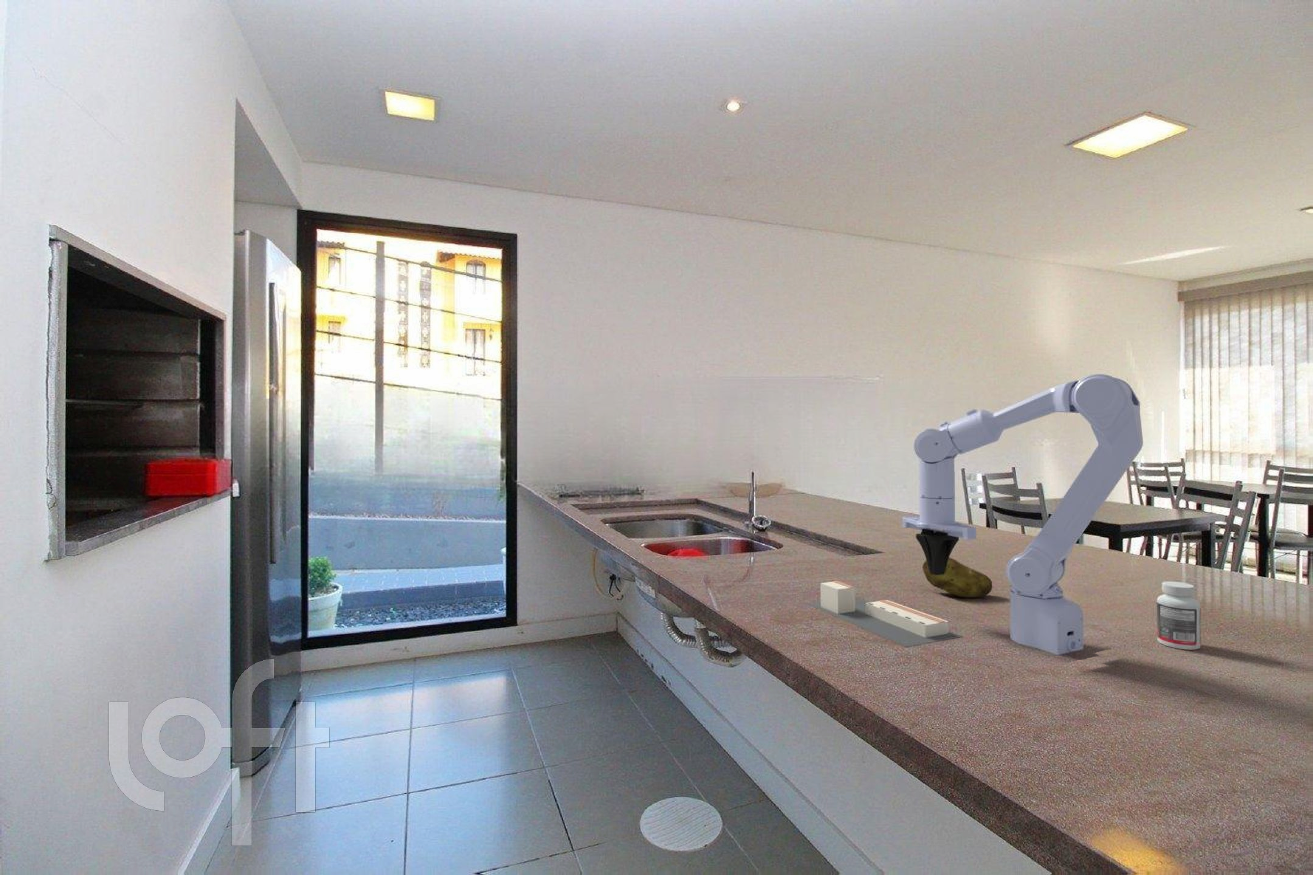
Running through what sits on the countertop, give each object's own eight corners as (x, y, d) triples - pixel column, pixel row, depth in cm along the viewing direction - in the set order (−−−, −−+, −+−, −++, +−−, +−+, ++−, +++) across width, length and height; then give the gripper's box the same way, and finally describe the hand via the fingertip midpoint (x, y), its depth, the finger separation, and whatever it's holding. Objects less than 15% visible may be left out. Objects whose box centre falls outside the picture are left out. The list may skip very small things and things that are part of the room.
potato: (987, 604, 121) (987, 564, 121) (919, 594, 129) (919, 557, 129) (994, 595, 128) (993, 557, 128) (928, 586, 136) (928, 550, 136)
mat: (962, 643, 99) (962, 636, 99) (906, 654, 95) (906, 646, 95) (855, 602, 124) (855, 596, 124) (805, 609, 119) (805, 603, 119)
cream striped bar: (948, 633, 101) (948, 620, 101) (925, 637, 99) (925, 624, 99) (886, 610, 114) (886, 599, 114) (865, 613, 112) (865, 602, 112)
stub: (855, 611, 114) (855, 586, 114) (837, 613, 112) (837, 588, 112) (837, 604, 118) (837, 580, 118) (820, 606, 117) (820, 582, 117)
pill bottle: (1165, 636, 102) (1165, 578, 102) (1206, 646, 97) (1206, 585, 97) (1150, 642, 99) (1150, 582, 99) (1191, 653, 94) (1191, 590, 94)
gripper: (889, 494, 113) (889, 567, 113) (954, 502, 100) (954, 585, 100) (918, 492, 116) (918, 564, 116) (985, 500, 102) (985, 581, 102)
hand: (937, 573), depth 108 cm, fingers closed
